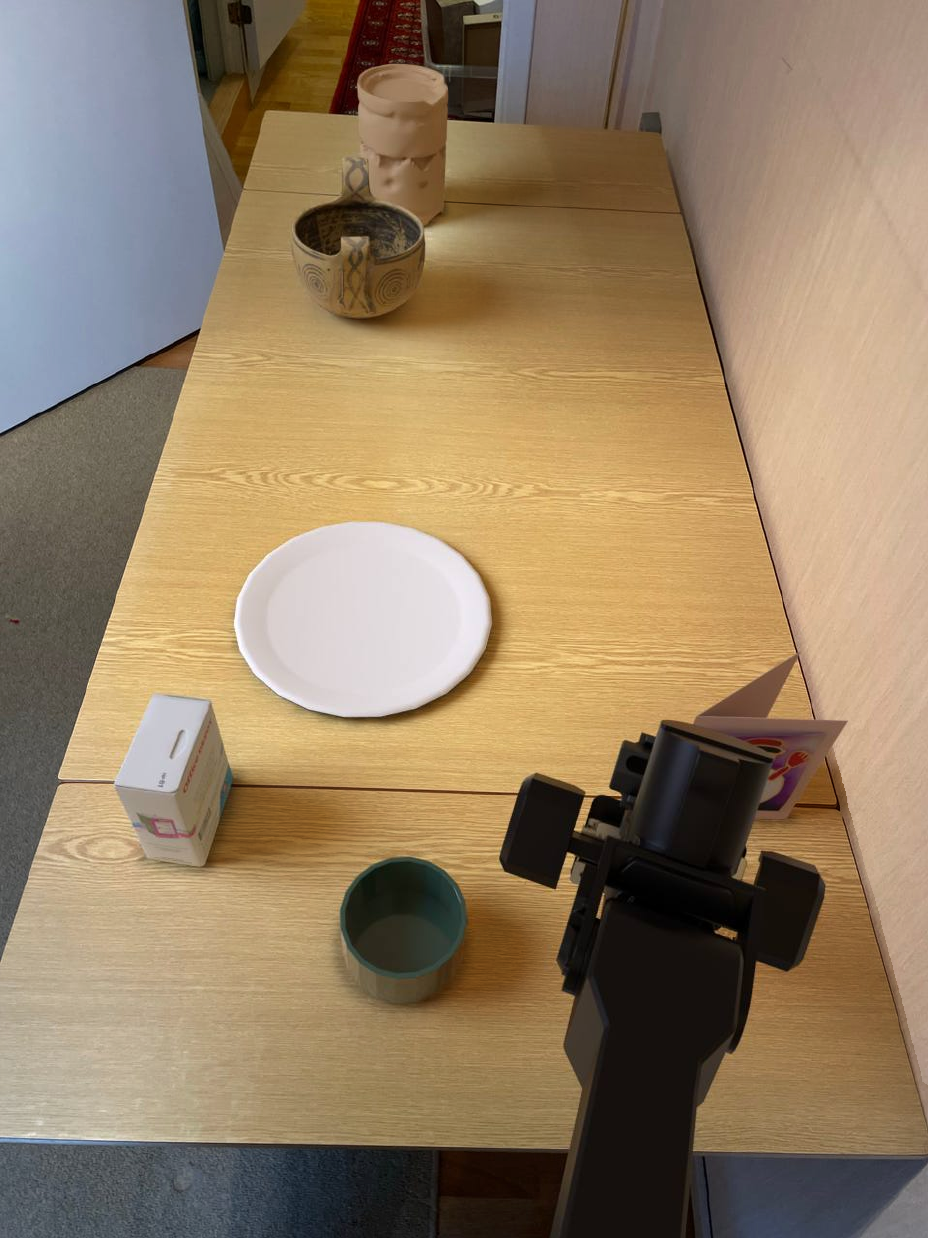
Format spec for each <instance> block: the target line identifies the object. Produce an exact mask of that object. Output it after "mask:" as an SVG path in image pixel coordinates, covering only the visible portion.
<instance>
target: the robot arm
mask: <svg viewBox="0 0 928 1238" xmlns="http://www.w3.org/2000/svg"><path fill="white" fill-rule="evenodd" d="M616 758H617V759H616V762H615V763H614V768H613V771H612V775H611V777H610V781H609V785H608V788H609V790H612V791H615V792H617V793H618V794H620V795H621V798H620V799H618V798H615V797H612V796H608V795H606V794H598V795H597V796H596V795H595V797H593V799H592V801H591V803H590V808H589V811H588V813H587V817H586V820H585V823H583V825H582V827H581V830H580V831H577V830H575V828H576V826H577V822H578V819H579V815H580V812H581V809H582V806H583V803H584V799H585V798H586V797H585V796H586V793H587V792H586V791H585V790H583V789H582V788H580V787H578V786H577V785H575V784H572V783H570V782H566V781H563V780H560V779H557V778H554V777H551V776H548V775H545V774H542V773H540V772H533V773H532V774H530V775H529V776H526V777H525V778H524V779H523V781H522V782H521V785H520V787H519V790H518V793H517V794H516V795H517V796H516V799H515V802H514V806H513V808H512V812H511V815H510V819H509V821H508V825H507V829H506V832H505V835H504V838H503V842H502V845H501V849H500V853H499V856H498V860H499V863H500V866H501V868H502V870H503V872H504V873H507V874H510V875H511V876H512V875H513V876H515V877H518V878H521V879H523V880H527V881H529V882H532V883H535V884H538V885H541V886H543V887H546V888H549V889H552V890H555V891H556V890H557V887H558V884H559V881H560V877H561V874H562V871H563V867H564V864H565V861H566V858H567V854H568V853H569V854H572V855H573V857H574V859H573V862H572V866H571V869H570V876H569V881H570V882H571V883H572V884H574V885H576V886H577V890H576V893H575V896H574V900H573V903H572V907H571V909H570V913H569V916H568V920H567V923H566V925H565V926H566V927H565V929H564V933H563V937H562V940H561V943H560V945H559V949H558V953H557V956H556V961H555V962H556V963H557V965H558V967H559V969H560V971H561V976H564V979H563V982H562V986H561V990H560V991H561V992H562V993H565V994H568V995H571V996H573V997H574V998H573V1002H572V1006H571V1010H570V1015H569V1019H568V1022H567V1027H566V1031H565V1035H564V1039H563V1046H562V1047H563V1051H564V1053H565V1056H566V1057H567V1059H568V1061H569V1064H570V1065H571V1068H572V1070H573V1072H574V1074H575V1076H576V1078H577V1081H578V1083H579V1085H580V1087H581V1094H580V1097H579V1102H578V1108H577V1113H576V1117H575V1122H574V1126H573V1130H572V1135H571V1138H570V1139H571V1140H570V1145H569V1148H568V1153H567V1157H566V1162H565V1168H564V1172H563V1174H562V1181H561V1185H560V1190H559V1194H558V1199H557V1203H556V1208H555V1213H554V1217H553V1221H552V1227H551V1230H550V1235H549V1238H686V1231H687V1221H688V1210H689V1198H690V1187H691V1186H690V1185H691V1178H692V1177H691V1176H692V1165H693V1155H694V1144H695V1143H694V1142H695V1132H696V1121H697V1110H698V1108H699V1107H700V1106H702V1104H703V1103H704V1102H705V1099H707V1098H706V1097H707V1095H708V1093H709V1091H710V1089H711V1086H712V1084H713V1082H714V1080H715V1077H716V1076H717V1073H718V1071H719V1069H720V1066H721V1064H722V1062H723V1060H724V1058H725V1055H726V1054H729V1055H733V1053H734V1052H735V1051H736V1049H737V1048H738V1046H739V1044H740V1042H741V1039H742V1037H743V1035H744V1032H745V1029H746V1028H745V1027H746V1024H747V1021H748V1017H749V1013H750V1008H751V1004H752V998H753V993H754V992H753V991H754V983H755V976H756V966H757V962H758V963H760V964H764V965H766V966H769V967H772V968H774V969H778V970H780V971H783V972H786V973H788V972H789V971H791V970H793V969H796V967H798V966H800V965H801V964H802V963H803V961H804V960H805V957H806V953H807V950H808V947H809V944H810V941H811V938H812V936H813V932H814V930H815V926H816V924H817V921H818V918H819V915H820V912H821V909H822V906H823V903H824V900H825V895H826V887H827V886H826V883H825V881H824V879H823V878H822V875H821V874H820V872H819V870H818V868H817V866H816V865H815V864H812V863H809V862H806V861H803V860H800V859H797V858H794V857H792V856H789V855H785V854H782V853H779V852H776V851H773V850H772V851H771V850H760V853H759V857H758V858H757V860H758V863H759V865H758V868H757V871H756V873H755V877H754V880H753V883H750V882H747V881H744V880H743V879H744V876H745V872H746V868H747V866H748V861H747V859H746V855H747V853H748V852H747V851H748V850H747V846H746V845H747V842H748V839H749V837H750V834H751V830H752V827H753V825H754V822H755V819H756V818H755V815H756V812H757V809H758V806H759V803H760V800H761V797H762V794H763V791H764V788H765V785H766V782H767V779H768V776H769V773H770V770H771V767H772V764H773V761H774V757H773V756H772V755H771V754H770V753H768V752H766V751H765V750H763V749H761V748H759V747H757V746H755V745H752V744H750V743H748V742H745V741H743V740H740V739H738V738H735V737H732V736H729V735H727V734H724V733H721V732H718V731H715V730H712V729H708V728H705V727H701V726H698V725H694V724H693V723H689V722H685V721H680V720H675V719H661V720H660V723H659V726H658V730H657V732H656V735H652V734H649V733H645V732H643V731H641V733H640V736H639V738H638V741H636V742H634V741H630V740H628V739H624V740H622V742H621V746H620V749H619V751H618V755H617V757H616ZM602 898H603V899H602ZM601 901H602V905H601ZM600 905H601V910H600V911H601V912H600V917H597V916H598V914H599V913H598V912H599V909H600ZM721 928H723V929H725V930H728V931H731V932H734V933H736V935H735V936H732V938H731V937H728V936H726V935H723V934H720V933H717V932H716V931H719V930H720V929H721Z"/></svg>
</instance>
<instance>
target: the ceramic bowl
mask: <svg viewBox="0 0 928 1238" xmlns="http://www.w3.org/2000/svg"><path fill="white" fill-rule="evenodd" d="M291 255H292V260H293V266H294V269H295V272H296V276H297V278H298V281H299V282H300V284H301V287H302V289H303V290H304V291H305V292H306V294H307V295H308V297H309V298H310V299H311V300H312V301H313V302H314V303H316V305H318V306H319V307H320V308H322V309H324V310H325V311H327V312H329V313H330V314H334V315H336V316H339V317H343V318H347V319H360V320H361V319H370V318H376V317H379V316H383V315H385V314H388V313H390V312H392V311H394V310H396V309H397V308H399V307H401V306H402V305H403V304H404V303H406V302H407V301H408V300H409V299H410V298H411V296H412V295H413V294H414V292H415V291H416V289H417V287H418V285H419V284H420V281H421V279H422V275H423V271H424V267H425V259H426V236H425V226H423V224H422V222H421V221H420V219H419V218H418V217H417V216H416V215H414V214H413V213H412V212H410V211H409V210H407V209H405V208H404V207H402V206H399V205H396V204H394V203H391V202H387V201H382V200H378V199H376V198H375V197H374V196H373V195H372V194H371V191H370V186H369V161H368V159H367V158H360V157H359V156H357V157H355V156H353V157H352V156H351V157H350V156H349V157H347V156H346V157H342V158H341V192H340V195H338V196H337V197H335V198H333V199H330V200H326V201H325V200H324V201H321V202H319V203H316V204H314V205H312V206H311V205H310V206H309V207H307V208H305V209H303V210H302V211H301V212H299V213H298V214H297V215H296V216H295V218H294V220H293V222H292V224H291Z"/></svg>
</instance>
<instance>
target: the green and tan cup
mask: <svg viewBox="0 0 928 1238" xmlns="http://www.w3.org/2000/svg"><path fill="white" fill-rule="evenodd" d="M467 925H468V911H467V902H466V900H465V896H464V895H463V893H462V891H461V888H460V886H459V884H458V883H457V882H456V881H455V880H454V879H453V878H452V876H451V875H450V874H449V872H447V870H445V869H444V868H442V867H441V866H439V865H437V864H436V863H433V862H431V861H430V860H428V859H423V858H418V857H414V856H396V857H393V856H392V857H389V858H386V859H383V860H380V861H378V862H375V863H373V864H371V865H370V866H368V867H367V868H366V869H364V870H363V871H361V873H359V874H358V875H357V876H356V877H355V878H354V880H353V881H352V882H351V884H350V885H349V886H348V888H347V889H346V891H345V893H344V896H343V899H342V902H341V906H340V907H339V929H340V930H339V931H340V939H341V951H342V957H343V960H344V964H345V966H346V970H347V972H348V973H349V976H350V977H351V979H352V980H353V981H354V982H355V984H356V985H357V987H358V988H359V989H360V990H361V991H363V992H364V993H365V994H367V996H369V997H371V998H372V999H374V1000H377V1001H380V1002H382V1003H385V1004H390V1005H397V1006H407V1005H414V1004H418V1003H421V1002H424V1001H427V1000H429V999H432V998H433V997H435V996H436V995H438V994H439V993H441V992H442V990H444V989H445V988H446V987H447V986H448V984H450V983H451V981H452V979H453V978H454V977H455V975H456V974H457V971H458V969H459V967H460V964H461V961H462V958H463V957H462V956H463V951H464V947H465V939H466V933H467V928H468V927H467Z"/></svg>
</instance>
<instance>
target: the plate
mask: <svg viewBox="0 0 928 1238" xmlns="http://www.w3.org/2000/svg"><path fill="white" fill-rule="evenodd" d="M492 618H493V617H492V605H491V598H490V596H489V593H488V591H487V588H486V586H485V584H484V582H483V580H482V577H481V575H480V573H478V572H477V570H476V569H475V568H474V567H473V566H472V564H471V563H470V562H469V560H467V558H466V557H464V555H463V554H462V553H460V552H459V551H458V550H456V549H454V548H453V547H452V546H451V545H449V544H447V543H446V542H444V541H443V540H442V539H440V538H437V537H436V536H433V535H431V534H428V533H426V532H423V531H421V530H419V529H416V528H414V527H410V526H405V525H399V524H395V523H389V522H384V521H347V522H341V523H336V524H331V525H326V526H320V527H317V528H315V529H312V530H309V531H307V532H304V533H302V534H300V535H296V536H294V537H292V538H290V539H289V540H287V541H285V542H284V543H283V544H282V545H280V546H278V547H277V548H275V549H274V550H272V551H270V552H269V553H268V554H266V556H264V558H262V560H261V561H260V562H259V563H258V564H257V566H256V567H255V568H254V569H253V570H252V571H251V572H250V573H249V574H248V576H247V578H246V580H245V583H244V584H243V586H242V588H241V590H240V593H239V594H238V596H237V598H236V605H235V612H234V620H233V627H234V631H235V636H236V640H237V645H238V650H239V653H240V654H241V656H242V657H243V659H244V660H245V662H246V664H247V665H248V667H249V669H250V670H251V672H252V673H253V675H254V676H255V677H256V678H257V679H258V680H260V682H261V683H263V685H265V686H266V687H267V688H269V689H270V690H271V691H272V692H273V693H274V694H275V695H277V696H278V697H280V698H282V699H284V700H286V701H288V702H290V703H293V704H294V705H296V706H298V707H301V708H303V709H305V710H307V711H310V712H315V713H320V714H323V715H328V716H333V717H337V718H342V719H375V718H376V719H377V718H379V719H380V718H381V719H382V718H385V717H389V716H394V715H399V714H403V713H406V712H410V711H415V710H417V709H420V708H422V707H424V706H426V705H427V704H430V703H431V702H434V701H436V700H438V699H440V698H442V697H444V696H446V695H447V694H449V693H450V692H451V691H452V690H453V689H454V688H456V687H457V686H458V685H459V684H460V683H461V682H463V681H464V680H466V678H467V677H468V676H470V675H471V673H472V672H473V670H474V668H476V665H477V664H478V662H479V661H480V659H481V658H482V656H483V655H484V653H485V651H486V648H487V646H488V641H489V637H490V633H491V629H492V626H493V619H492Z"/></svg>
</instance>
